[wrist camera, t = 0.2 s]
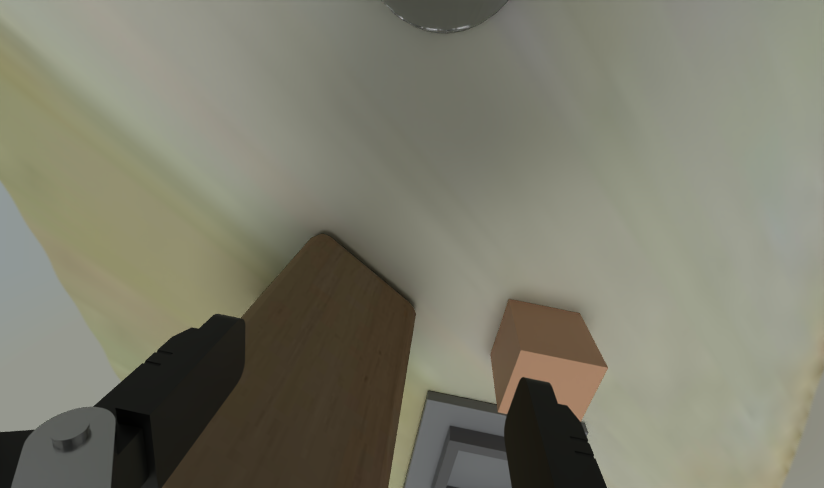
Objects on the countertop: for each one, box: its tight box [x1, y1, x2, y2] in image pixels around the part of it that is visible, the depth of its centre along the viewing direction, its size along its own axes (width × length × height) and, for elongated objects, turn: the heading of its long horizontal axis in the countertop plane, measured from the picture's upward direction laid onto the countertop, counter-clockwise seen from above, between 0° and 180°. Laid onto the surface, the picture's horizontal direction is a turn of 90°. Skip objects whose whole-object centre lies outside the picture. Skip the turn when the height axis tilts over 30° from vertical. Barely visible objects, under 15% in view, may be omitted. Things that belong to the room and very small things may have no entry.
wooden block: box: [162, 234, 416, 488], centre depth 22 cm, size 10×10×20 cm
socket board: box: [403, 391, 588, 488], centre depth 36 cm, size 14×14×2 cm
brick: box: [491, 299, 608, 422], centre depth 28 cm, size 6×6×6 cm
